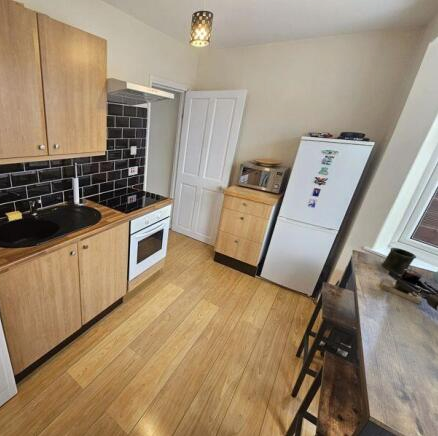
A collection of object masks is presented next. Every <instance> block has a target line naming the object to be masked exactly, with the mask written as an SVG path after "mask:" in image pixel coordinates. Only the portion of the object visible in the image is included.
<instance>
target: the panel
mask: <svg viewBox="0 0 438 436" xmlns="http://www.w3.org/2000/svg"><path fill="white" fill-rule="evenodd" d="M395 284H396V281H393V280H391V279H389V278H384V280H383V281H382V283H381V286H380V290H382V291H384V292H388V293H389V292H390V293H393V294H395V295H397V296H400V297H402V298H404V299H407V300H408V301H410V302H413V303H415V304H418V305H420V304H421V302H422V300H423V298H422V297H421V296H417V297H415V296H413V295H412V294H411V293H408V292H404V291H401V290H399V289H398V288H396V287H395Z"/></svg>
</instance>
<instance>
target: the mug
mask: <svg viewBox="0 0 438 436" xmlns="http://www.w3.org/2000/svg"><path fill="white" fill-rule="evenodd" d="M416 258H417V256H416V255H415V254H414V253H412V252H411V251H408V250H405V249H402V248H398V247H391V248H390V251H389V252H388V254H387V256H386V257H385V259H384V261H383V262H382V267H383V268H384V269H386V270H388V271H389V272H390V270H392V271H393V272H395V273H396V274H398V275H399V274H400V275H402V273H403V272H404V270H405V269H409V267H410V266H411V264H412V263H413V261H414V260H415V259H416Z"/></svg>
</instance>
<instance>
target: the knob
mask: <svg viewBox="0 0 438 436" xmlns="http://www.w3.org/2000/svg"><path fill="white" fill-rule="evenodd" d="M400 276H401V277H403V278H404V280H405V281H407V282H409V283H411V284H413V285H415V286H417V285H416V284H417V283H418V281H419V280H421V279H422V277H423V275H422V274H421V273H419V272H417V271H415V270H413V269H409V268H407V269H405V270H404V272H403V273H402V274H400ZM395 287H396V288H398V289H399V290H401V291H404V292H408V291H406V290H405V289H403V288H402V287H400V286H399V285H397V284H395ZM408 293H409V292H408Z"/></svg>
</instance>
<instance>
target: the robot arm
mask: <svg viewBox="0 0 438 436" xmlns="http://www.w3.org/2000/svg"><path fill="white" fill-rule="evenodd" d="M387 275H388V277H391V278H392V279H394V280H395V282H396V284H397V285H399V286H400V287H402V288H403V289H405V290H406V291H408V292H409V293H411V294H412V295H413V296H415V297H417V296H421V297H422V299H424V300H425V301H426V303H427V305H428V306H429V307H430V308H432V309H433V310H435V311H436V312H438V289H437V288H436V287H435V286H433V285H432V284H430V283H429V282H427V281H425V280H424V281H423V280H421V279H420V280H419V281H418V283H417V284H416V285H413V284H411V283H409V282H407V281H405V280H404V278H403V277H401V275H399V273H395V272H393V271H392V270H390V271H389V272H388V273H387ZM432 280H433V282H434V283H436V284H437V285H438V270H437V271H436V272H434V274H433V276H432Z"/></svg>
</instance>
